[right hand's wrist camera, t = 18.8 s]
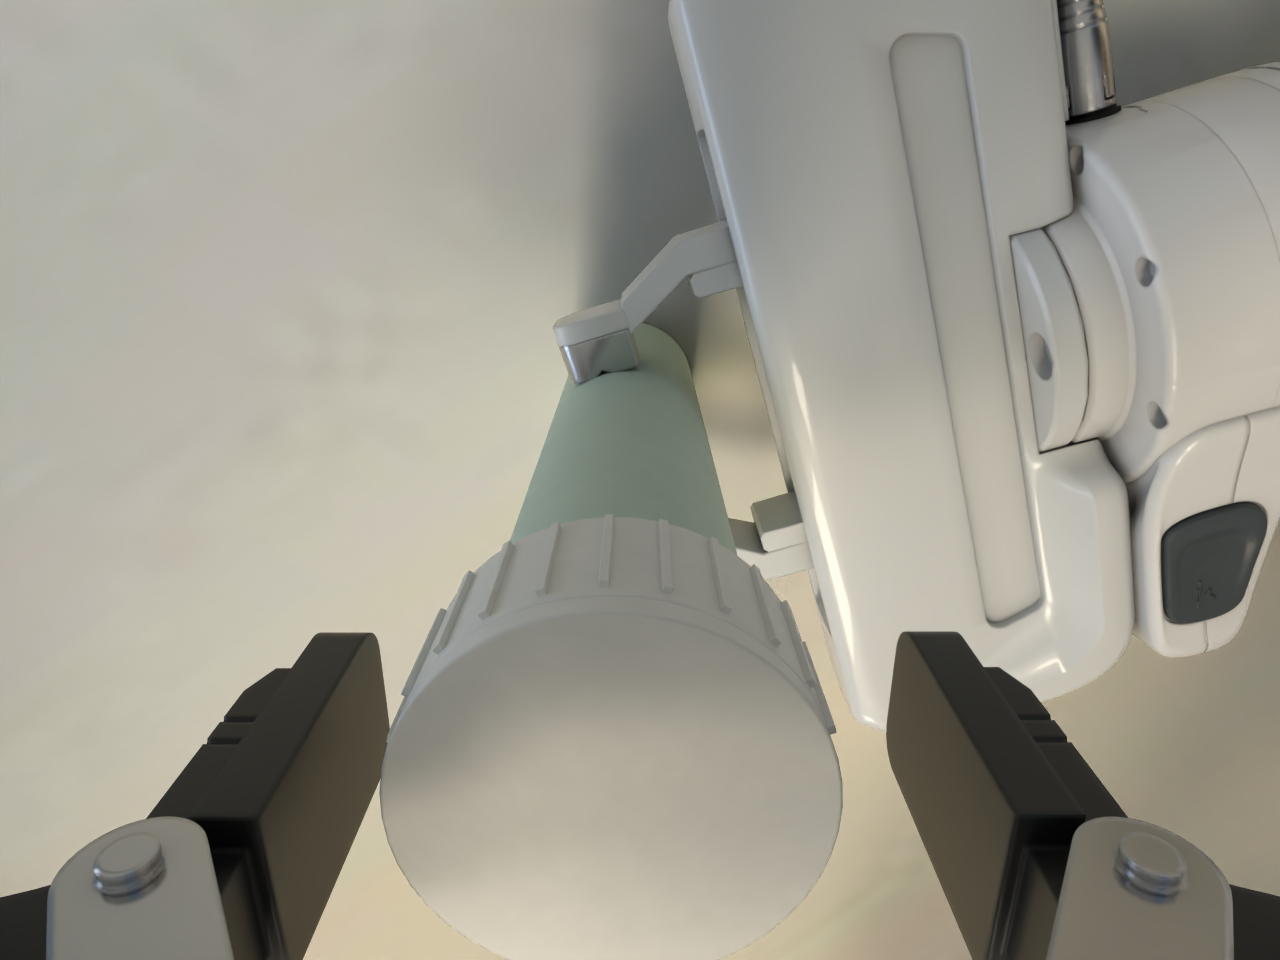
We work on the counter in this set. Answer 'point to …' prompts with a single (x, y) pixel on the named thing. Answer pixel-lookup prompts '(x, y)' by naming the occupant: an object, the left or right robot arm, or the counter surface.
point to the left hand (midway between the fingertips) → (596, 450)
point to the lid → (612, 751)
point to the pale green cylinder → (629, 450)
